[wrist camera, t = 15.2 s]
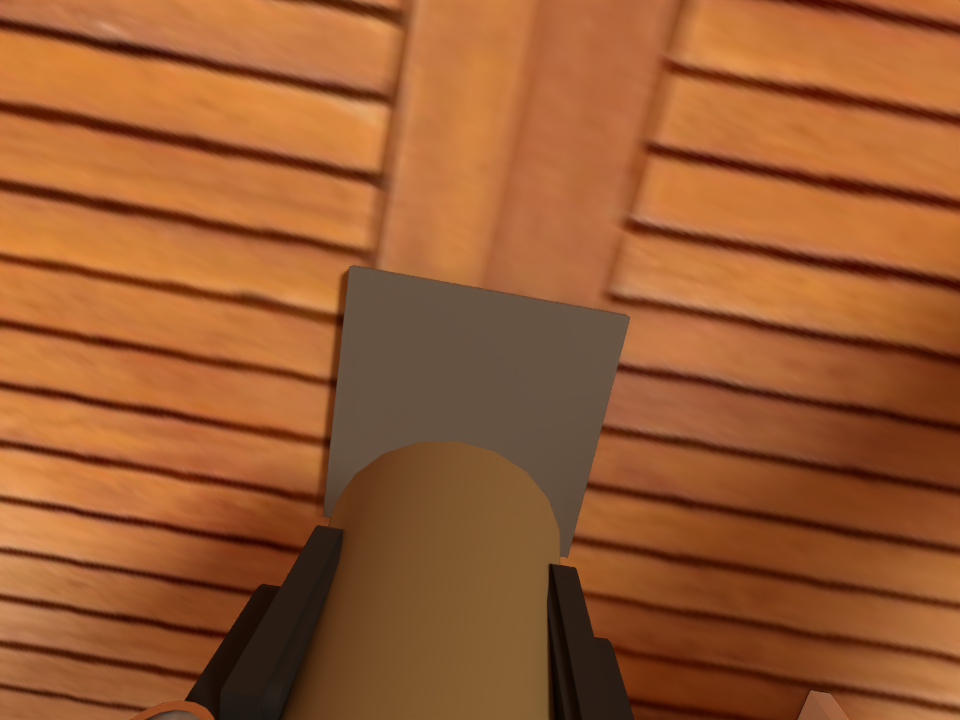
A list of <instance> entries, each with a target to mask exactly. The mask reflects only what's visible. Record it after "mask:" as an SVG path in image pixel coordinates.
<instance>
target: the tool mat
mask: <svg viewBox="0 0 960 720" xmlns="http://www.w3.org/2000/svg"><path fill="white" fill-rule="evenodd" d="M629 320H630V317H629V316H627V315H625V314H620V313H614V312H609V311H603V310H598V309H592V308H587V307H581V306H575V305H570V304H564V303H559V302H553V301H548V300H542V299H537V298H531V297H526V296H520V295H515V294H509V293H504V292H498V291H493V290H487V289H482V288H476V287H471V286H465V285H460V284H454V283H449V282H443V281H437V280H432V279H426V278H421V277H415V276H410V275H404V274H399V273H393V272H388V271H382V270H377V269H371V268H366V267H360V266H355V265H353V266H349V275H348V284H347V294H346V303H345V312H344V322H343V331H342V340H341V350H340V359H339V368H338V378H337V387H336V396H335V406H334V415H333V424H332V434H331V443H330V452H329V462H328V471H327V480H326V490H325V499H324V509H323V516H325V517H331V516H332V513H333V509H334V506H335V503H336V501H337V500H338V498H339V497H340V495H341V494H342V492H343V491H344V489H345V488H346V486H347V485H348V484H349V482H350V481H351V479H352V478H353V476H354V475H355V474H356V473H357V472H359V471H360V470H362V469H363V468H364V467H366V466H367V465H368V464H370V463H371V462H373V461H374V460H375V459H377V458H378V457H379V456H381V455H382V454H384V453H387V452H390V451H393V450H396V449H399V448H402V447H405V446H408V445H411V444H414V443H417V442H444V441H459V442H462V443H466V444H469V445H473V446H477V447H480V448H484V449H487V450H491V451H494V452H496V453H498V454H499V455H501V456H502V457H504V458H506V459H507V460H509V461H510V462H512V463H513V464H515V465H516V466H518V467H520V468H521V469H523V470H524V471H526V472H527V473H528V475H529V476H530V477H531V478H532V480H533V481H534V482H535V483H536V484H537V486H538V487H539V488H540V489H541V491H542V492H543V493H544V494H545V495H546V497H547V498H548V499H549V502H550V505H551V508H552V511H553V513H554V516H555V519H556V522H557V525H558V528H559V532H560V556H561V557H567V558H568V554H569V551H570V547H571V543H572V539H573V535H574V531H575V528H576V524H577V520H578V516H579V512H580V508H581V504H582V501H583V497H584V493H585V489H586V485H587V481H588V478H589V474H590V470H591V466H592V462H593V458H594V454H595V451H596V447H597V443H598V439H599V435H600V431H601V428H602V424H603V420H604V416H605V412H606V408H607V404H608V401H609V397H610V393H611V389H612V385H613V381H614V378H615V374H616V370H617V366H618V362H619V358H620V355H621V351H622V347H623V343H624V339H625V335H626V331H627V328H628V324H629Z"/></svg>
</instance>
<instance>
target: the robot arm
mask: <svg viewBox="0 0 960 720" xmlns="http://www.w3.org/2000/svg"><path fill="white" fill-rule="evenodd" d="M342 532H343V529H338V528H332V527H326V526H320V525H318V526H316V528H315V529H314V531H313V533H312V534H311V536H310V538H309V539H308V541H307V543H306V545H305V546H304V548H303V550H302V552H301V553H300V555H299V557H298V558H297V560H296V562H295V564H294V565H293V567H292V569H291V571H290V572H289V574H288V576H287V577H286V579H285V581H284V583H283V584H282V586H281V587H280V586H273V585H267V584H262V585H260V586H259V587H258V588H257V589H256V591H255V592H254V594H253V595H252V597H251V598H250V600H249V601H248V603H247V604H246V606H245V607H244V609H243V611H242V612H241V614H240V615H239V617H238V618H237V620H236V621H235V623H234V625H233V626H232V628H231V629H230V631H229V632H228V634H227V635H226V637H225V639H224V640H223V642H222V643H221V645H220V646H219V648H218V649H217V651H216V653H215V654H214V656H213V657H212V659H211V660H210V662H209V663H208V665H207V666H206V668H205V670H204V671H203V673H202V674H201V676H200V677H199V679H198V680H197V682H196V684H195V685H194V687H193V688H192V690H191V691H190V693H189V694H188V696H187V698H186V699H185V701H174V702H168V703H162V704H160V705H157V706H154V707H152V708H149V709H147V710H145V711H143V712H141V713H140V714H138V715H137V716H135V717H133V718H132V719H130V720H280V718H281V715H282V712H283V709H284V707H285V704H286V701H287V698H288V696H289V693H290V690H291V687H292V684H293V682H294V679H295V676H296V673H297V670H298V668H299V665H300V662H301V659H302V657H303V654H304V651H305V649H306V646H307V644H308V641H309V638H310V636H311V633H312V631H313V628H314V625H315V623H316V620H317V618H318V615H319V612H320V610H321V607H322V605H323V602H324V599H325V597H326V594H327V592H328V589H329V586H330V584H331V581H332V578H333V576H334V573H335V571H336V568H337V565H338V563H339V558H340V552H341V547H342V541H343V537H342V536H340V535H341V534H342ZM550 569H551V570H552V571H551V570H550V571H549V585H548V594H547V608H548V620H549V634H550V650H551V665H552V681H553V696H554V712H555V720H634V717H633V714H632V710H631V707H630V703H629V700H628V697H627V693H626V690H625V687H624V683H623V680H622V676H621V673H620V670H619V666H618V663H617V660H616V656H615V653H614V650H613V647H612V645H611V642H610V641H609V640H608V639H604V638H598V637H594V634H593V630H592V627H591V623H590V619H589V615H588V611H587V607H586V603H585V600H584V596H583V592H582V588H581V584H580V580H579V576H578V572H577V570H576V568H575V567H569V566H563V565H557V564H550Z"/></svg>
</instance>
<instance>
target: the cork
mask: <svg viewBox="0 0 960 720" xmlns="http://www.w3.org/2000/svg"><path fill="white" fill-rule="evenodd" d="M328 527H332V528H338V529H343V532H342V534H341V535H340V536H342V537H343V541H342V547H341V552H340V558H339V563H338V565H337V568H336V571H335V573H334V576H333V578H332V581H331V584H330V586H329V589H328V592H327V594H326V597H325V599H324V602H323V605H322V607H321V610H320V612H319V615H318V618H317V620H316V623H315V625H314V628H313V631H312V633H311V636H310V638H309V641H308V644H307V646H306V649H305V651H304V654H303V657H302V659H301V662H300V665H299V668H298V670H297V673H296V676H295V679H294V682H293V684H292V687H291V690H290V693H289V696H288V698H287V701H286V704H285V707H284V709H283V712H282V715H281V718H280V720H555V712H554V696H553V681H552V665H551V650H550V634H549V620H548V608H547V594H548V585H549V571H550V570H551V569H550V564H557V565H560V532H559V528H558V525H557V522H556V519H555V516H554V513H553V511H552V508H551V505H550V502H549V499H548V498H547V497H546V495H545V494H544V493H543V492H542V491H541V489H540V488H539V487H538V486H537V484H536V483H535V482H534V481H533V480H532V478H531V477H530V476H529V475H528V473H527V472H526V471H524V470H523V469H521V468H520V467H518V466H516V465H515V464H513V463H512V462H510V461H509V460H507V459H506V458H504V457H502V456H501V455H499V454H498V453H496V452H494V451H491V450H487V449H484V448H480V447H477V446H473V445H469V444H466V443H462V442H459V441H444V442H417V443H414V444H411V445H408V446H405V447H402V448H399V449H396V450H393V451H390V452H387V453H384V454H382V455H381V456H379V457H378V458H377V459H375V460H374V461H373V462H371V463H370V464H368V465H367V466H366V467H364V468H363V469H362V470H360V471H359V472H357V473H356V474H355V475H354V476H353V478H352V479H351V481H350V482H349V484H348V485H347V486H346V488H345V489H344V491H343V492H342V494H341V495H340V497H339V498H338V500H337V501H336V503H335V506H334V509H333V513H332V516H331V519H330V523H329V526H328ZM551 571H552V570H551Z"/></svg>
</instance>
